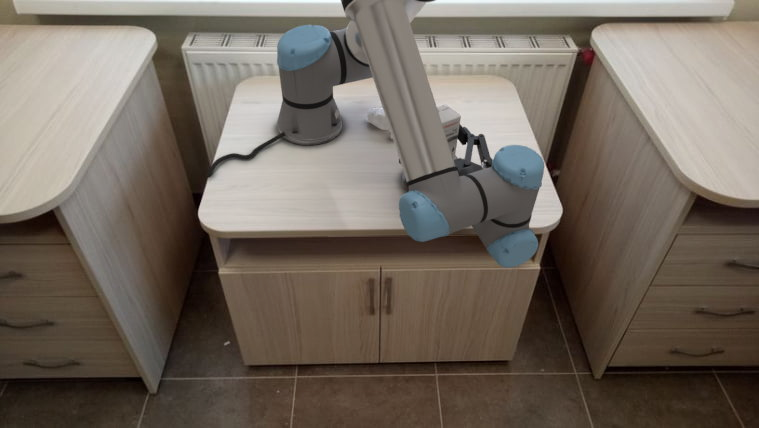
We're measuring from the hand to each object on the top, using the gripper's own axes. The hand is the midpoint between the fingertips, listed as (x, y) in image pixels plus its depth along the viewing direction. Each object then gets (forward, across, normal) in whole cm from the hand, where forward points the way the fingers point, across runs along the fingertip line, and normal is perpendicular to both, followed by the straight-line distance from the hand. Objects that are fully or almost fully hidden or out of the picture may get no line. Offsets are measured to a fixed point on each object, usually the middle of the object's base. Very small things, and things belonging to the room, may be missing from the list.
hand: (426, 126), depth 111 cm
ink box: (-4, 0, -7) cm, 8 cm away
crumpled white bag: (+18, -3, -12) cm, 22 cm away
